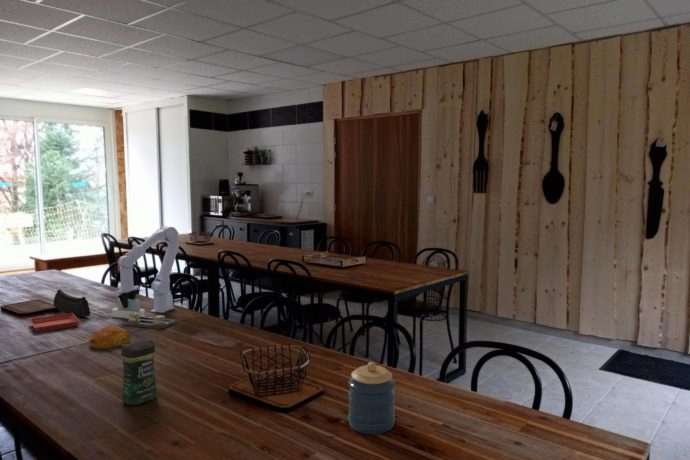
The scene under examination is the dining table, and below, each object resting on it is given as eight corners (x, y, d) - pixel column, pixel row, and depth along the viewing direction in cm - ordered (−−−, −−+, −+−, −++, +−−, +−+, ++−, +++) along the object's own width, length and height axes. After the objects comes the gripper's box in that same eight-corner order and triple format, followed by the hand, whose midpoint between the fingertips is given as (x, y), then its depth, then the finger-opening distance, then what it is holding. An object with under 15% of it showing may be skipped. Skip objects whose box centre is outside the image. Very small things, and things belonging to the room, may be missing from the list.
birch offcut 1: (158, 320, 231) (158, 315, 231) (164, 321, 230) (164, 315, 230) (153, 322, 227) (153, 317, 227) (160, 323, 227) (160, 317, 226)
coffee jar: (132, 409, 147) (129, 348, 145) (118, 401, 152) (115, 343, 150) (161, 397, 154) (159, 340, 152) (148, 391, 159) (145, 335, 157)
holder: (120, 313, 251) (119, 306, 251) (146, 316, 246) (145, 309, 246) (111, 316, 246) (110, 309, 245) (137, 319, 241) (137, 312, 240)
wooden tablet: (185, 334, 214) (204, 326, 222) (186, 339, 215) (205, 331, 222) (225, 347, 198) (244, 338, 206) (226, 352, 199) (245, 343, 206)
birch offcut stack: (133, 322, 236) (133, 312, 235) (140, 323, 234) (140, 313, 234) (128, 324, 232) (127, 314, 232) (135, 325, 231) (134, 315, 230)
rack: (138, 319, 241) (138, 316, 241) (175, 323, 234) (175, 320, 234) (123, 324, 232) (123, 321, 232) (161, 329, 225) (161, 325, 225)
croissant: (116, 341, 216) (114, 323, 216) (136, 343, 206) (134, 324, 206) (83, 349, 204) (81, 330, 204) (102, 352, 195) (100, 331, 195)
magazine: (92, 300, 242) (61, 276, 257) (85, 302, 239) (55, 277, 254) (88, 331, 246) (59, 306, 262) (82, 333, 244) (52, 307, 259)
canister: (341, 430, 134) (341, 367, 132) (357, 409, 146) (357, 351, 144) (387, 439, 129) (387, 374, 127) (400, 417, 141) (400, 357, 140)
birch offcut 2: (158, 325, 231) (157, 320, 231) (165, 326, 230) (164, 321, 230) (153, 327, 228) (152, 322, 228) (160, 328, 227) (160, 323, 226)
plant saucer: (72, 318, 244) (72, 312, 243) (80, 327, 230) (79, 320, 229) (29, 325, 233) (29, 318, 232) (34, 335, 218) (34, 327, 218)
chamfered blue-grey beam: (121, 313, 249) (120, 298, 248) (140, 315, 245) (139, 300, 244) (117, 314, 247) (117, 299, 246) (137, 317, 243) (136, 301, 242)
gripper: (131, 276, 252) (132, 302, 254) (109, 282, 239) (110, 309, 240) (142, 277, 250) (143, 303, 251) (120, 283, 236) (122, 311, 238)
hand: (128, 306), depth 246 cm, fingers open, 3 cm apart
